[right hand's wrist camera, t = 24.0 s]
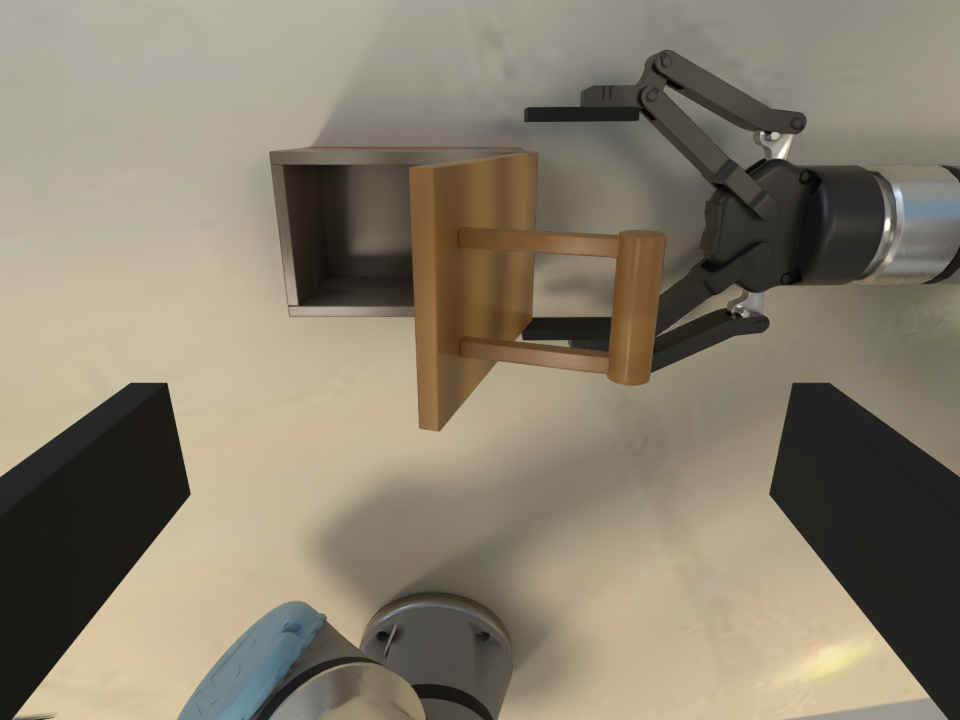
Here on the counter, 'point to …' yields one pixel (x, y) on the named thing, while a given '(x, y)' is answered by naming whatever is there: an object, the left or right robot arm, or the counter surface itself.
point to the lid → (509, 282)
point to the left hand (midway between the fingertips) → (522, 228)
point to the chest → (351, 226)
